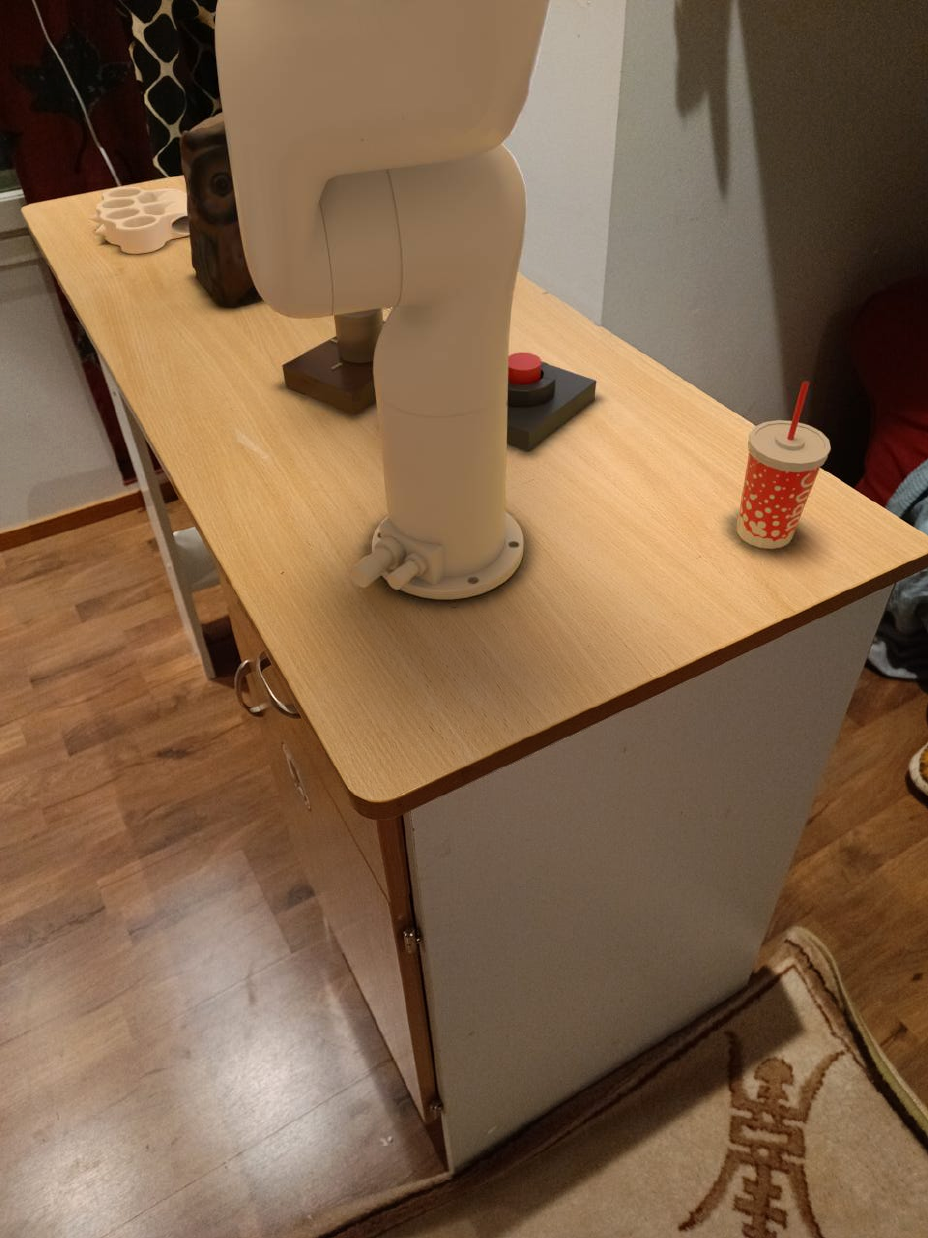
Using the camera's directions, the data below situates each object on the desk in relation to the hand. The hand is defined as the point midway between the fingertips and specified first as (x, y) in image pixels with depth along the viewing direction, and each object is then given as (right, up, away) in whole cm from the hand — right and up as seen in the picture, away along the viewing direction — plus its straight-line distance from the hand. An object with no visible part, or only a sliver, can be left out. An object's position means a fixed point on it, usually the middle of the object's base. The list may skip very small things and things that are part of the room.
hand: (348, 229), depth 84 cm
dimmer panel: (0, -11, +11) cm, 15 cm away
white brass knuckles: (-35, +19, +42) cm, 58 cm away
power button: (+17, -14, +2) cm, 22 cm away
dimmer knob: (0, -9, +9) cm, 13 cm away
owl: (-18, +6, +28) cm, 34 cm away
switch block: (+17, -16, +5) cm, 24 cm away
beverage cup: (+37, -30, -10) cm, 49 cm away
